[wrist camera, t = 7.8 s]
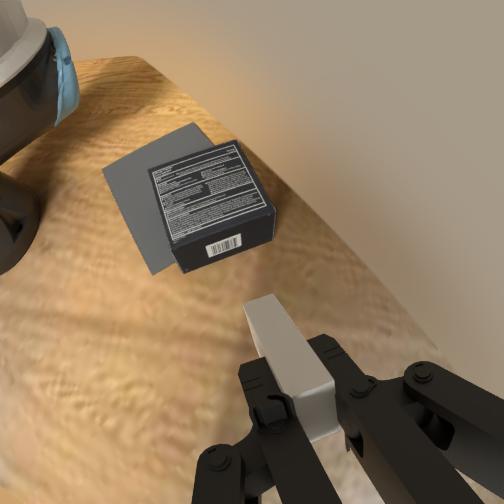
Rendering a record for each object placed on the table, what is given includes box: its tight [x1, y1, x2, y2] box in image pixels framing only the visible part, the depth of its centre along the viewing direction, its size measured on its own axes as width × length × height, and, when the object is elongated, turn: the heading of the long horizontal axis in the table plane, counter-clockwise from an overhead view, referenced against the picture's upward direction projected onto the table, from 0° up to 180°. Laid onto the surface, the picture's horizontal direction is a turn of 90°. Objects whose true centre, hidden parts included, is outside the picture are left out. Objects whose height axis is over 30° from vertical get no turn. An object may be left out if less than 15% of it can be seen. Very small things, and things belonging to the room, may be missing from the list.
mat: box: [102, 122, 214, 275], centre depth 39 cm, size 19×15×1 cm
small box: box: [147, 140, 277, 274], centre depth 33 cm, size 11×6×10 cm
